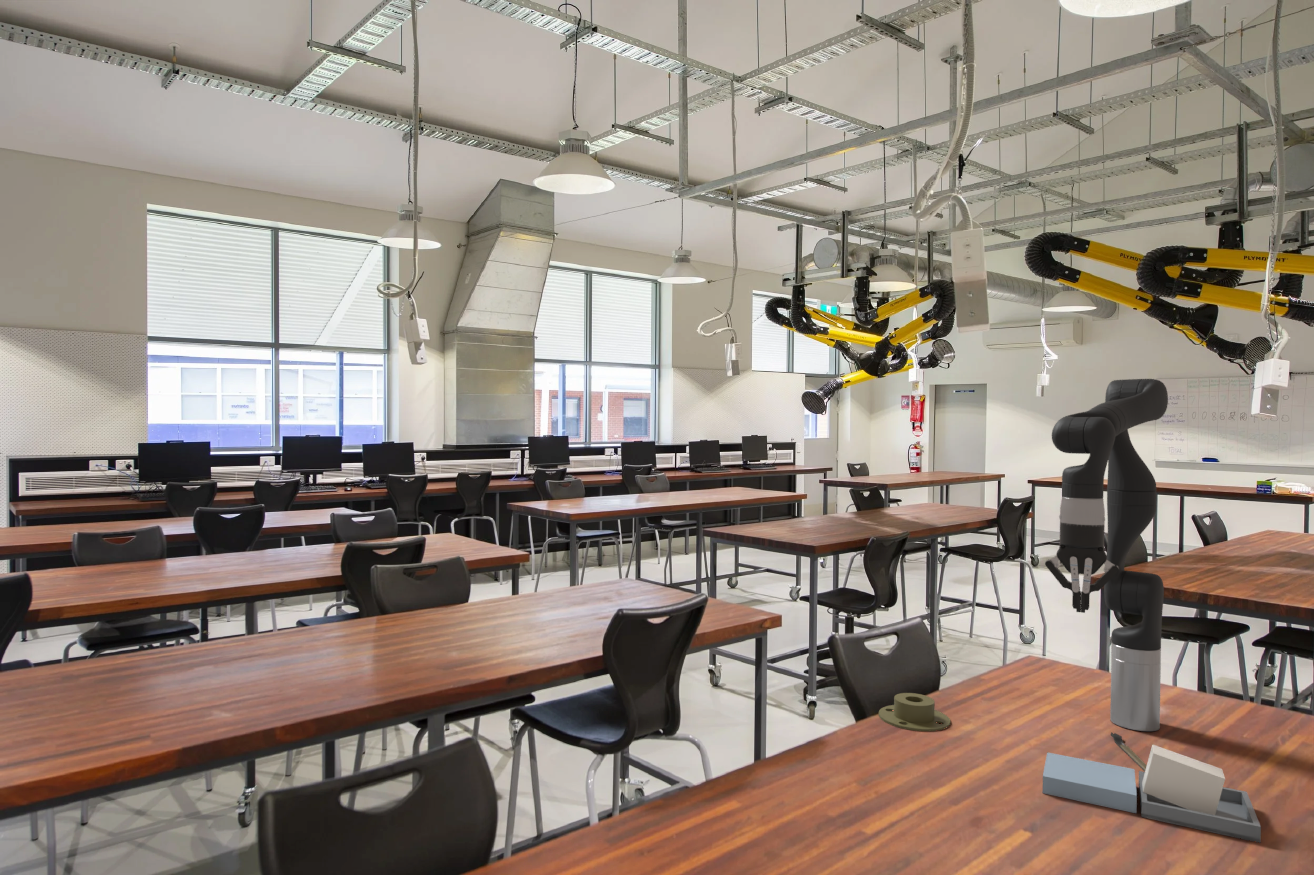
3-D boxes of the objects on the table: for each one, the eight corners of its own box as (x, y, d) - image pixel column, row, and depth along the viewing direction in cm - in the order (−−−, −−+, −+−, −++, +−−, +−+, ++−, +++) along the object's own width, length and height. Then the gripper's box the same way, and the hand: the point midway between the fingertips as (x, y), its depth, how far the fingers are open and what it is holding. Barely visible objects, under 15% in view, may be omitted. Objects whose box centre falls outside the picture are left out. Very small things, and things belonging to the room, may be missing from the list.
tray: (1138, 784, 140) (1138, 770, 140) (1246, 806, 132) (1246, 791, 132) (1141, 817, 128) (1141, 801, 128) (1260, 843, 120) (1260, 826, 120)
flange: (867, 699, 171) (934, 716, 161) (896, 684, 183) (960, 698, 173) (866, 721, 171) (934, 739, 161) (895, 704, 183) (960, 720, 173)
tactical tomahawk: (1183, 788, 141) (1183, 782, 141) (1142, 781, 143) (1143, 775, 143) (1140, 742, 162) (1141, 737, 162) (1105, 736, 163) (1106, 731, 163)
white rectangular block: (1142, 782, 135) (1152, 744, 135) (1211, 808, 130) (1222, 769, 130) (1142, 792, 132) (1153, 753, 131) (1213, 819, 126) (1225, 779, 126)
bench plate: (1047, 768, 147) (1047, 752, 147) (1134, 785, 140) (1134, 769, 140) (1042, 793, 136) (1042, 776, 136) (1136, 813, 129) (1136, 795, 129)
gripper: (1121, 521, 149) (1120, 612, 149) (1044, 517, 156) (1043, 604, 156) (1122, 525, 143) (1121, 620, 143) (1042, 520, 149) (1040, 611, 149)
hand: (1080, 611), depth 149 cm, fingers closed
